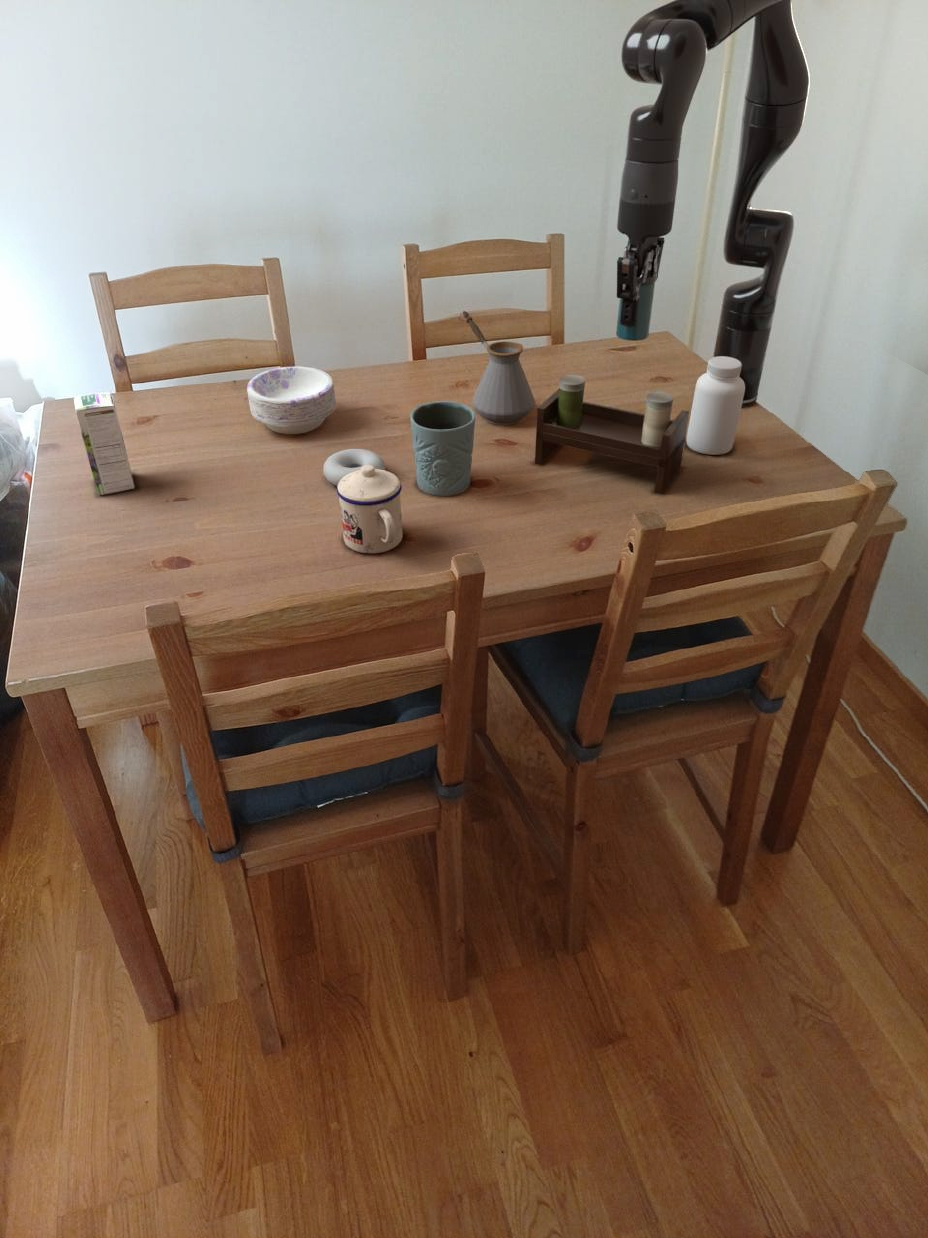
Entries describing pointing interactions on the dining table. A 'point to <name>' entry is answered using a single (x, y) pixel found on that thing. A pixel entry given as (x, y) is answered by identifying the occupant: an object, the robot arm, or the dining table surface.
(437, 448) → the teal embossed cup
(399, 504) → the teacup with lid
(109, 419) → the syrup box
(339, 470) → the donut
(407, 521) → the dining table surface
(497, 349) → the coffee pot
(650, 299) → the spice jar
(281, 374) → the paper bowls
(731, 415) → the pill bottle
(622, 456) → the spice rack
